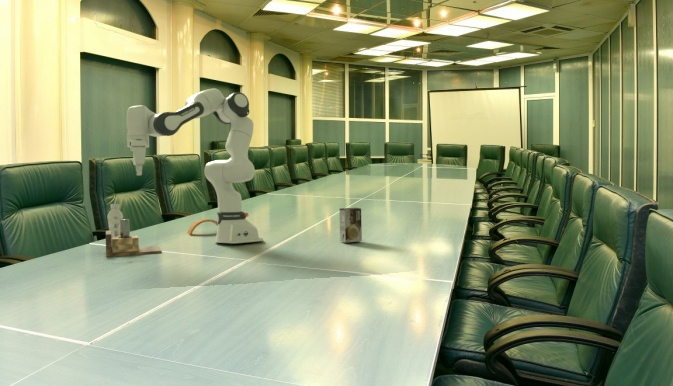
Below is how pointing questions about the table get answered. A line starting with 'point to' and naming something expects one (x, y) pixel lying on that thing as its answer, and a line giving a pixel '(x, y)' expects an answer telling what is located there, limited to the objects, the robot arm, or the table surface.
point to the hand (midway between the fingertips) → (139, 175)
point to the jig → (141, 251)
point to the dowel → (124, 228)
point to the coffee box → (350, 225)
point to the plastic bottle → (114, 220)
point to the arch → (198, 224)
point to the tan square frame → (125, 244)
